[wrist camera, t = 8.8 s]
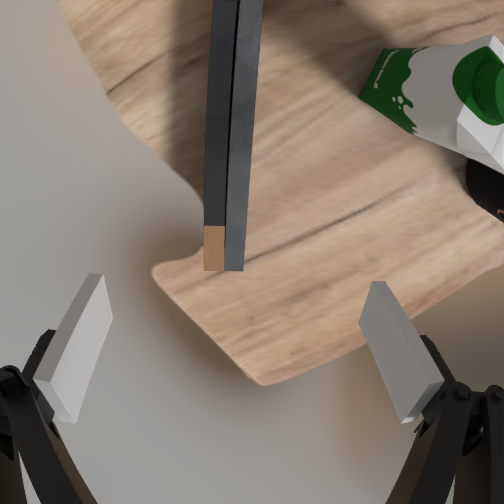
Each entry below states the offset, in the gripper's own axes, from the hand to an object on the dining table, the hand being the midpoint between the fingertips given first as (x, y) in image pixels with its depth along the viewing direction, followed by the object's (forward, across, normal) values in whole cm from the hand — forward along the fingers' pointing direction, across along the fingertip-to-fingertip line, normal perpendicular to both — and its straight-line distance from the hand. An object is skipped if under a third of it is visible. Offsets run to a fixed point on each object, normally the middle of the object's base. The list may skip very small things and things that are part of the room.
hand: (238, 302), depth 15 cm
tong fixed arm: (+22, -1, +7) cm, 23 cm away
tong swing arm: (+22, -2, +4) cm, 22 cm away
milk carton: (+22, +17, +12) cm, 31 cm away
